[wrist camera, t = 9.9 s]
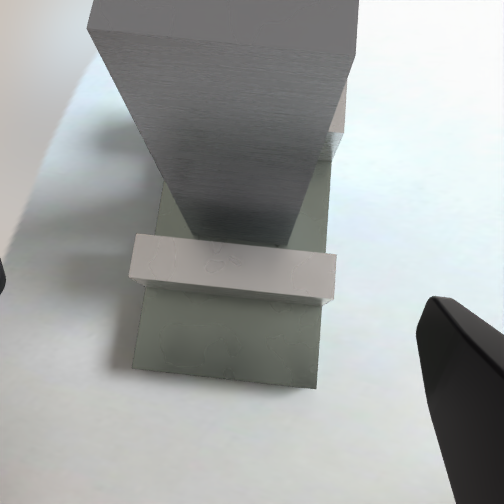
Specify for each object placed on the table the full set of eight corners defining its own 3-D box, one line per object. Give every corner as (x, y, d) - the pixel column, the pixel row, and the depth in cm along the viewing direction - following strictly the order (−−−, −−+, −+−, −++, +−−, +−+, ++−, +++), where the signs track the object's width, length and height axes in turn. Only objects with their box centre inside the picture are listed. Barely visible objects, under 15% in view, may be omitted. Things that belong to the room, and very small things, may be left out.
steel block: (287, 245, 21) (355, 55, 7) (192, 234, 21) (86, 28, 7) (293, 175, 22) (365, -110, 8) (203, 165, 22) (126, -132, 8)
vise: (311, 386, 21) (328, 396, 16) (139, 366, 21) (110, 371, 17) (332, 91, 25) (349, 36, 20) (188, 77, 25) (175, 19, 21)
